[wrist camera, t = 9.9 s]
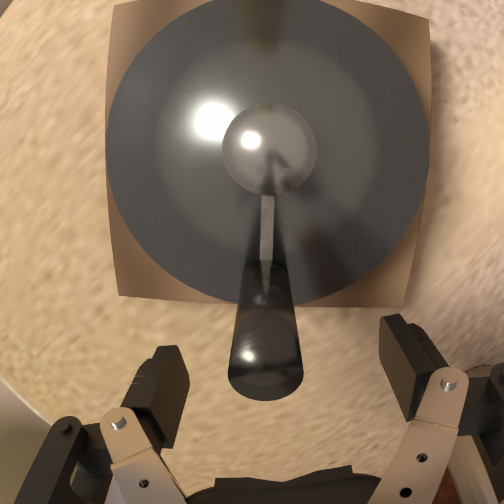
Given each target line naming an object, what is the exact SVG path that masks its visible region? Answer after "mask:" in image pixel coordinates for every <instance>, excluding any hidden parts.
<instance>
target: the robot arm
mask: <svg viewBox="0 0 504 504" xmlns="http://www.w3.org/2000/svg"><path fill="white" fill-rule="evenodd" d="M379 356H380V361H381V364H382V366H383V368H384V371H385V373H386V375H387V377H388V380H389V382H390V384H391V386H392V389H393V391H394V393H395V396H396V398H397V400H398V403H399V405H400V408H401V410H402V412H403V415H404V417H405V420H406V422H409V421H411V422H410V424H409V426H408V428H407V430H406V433H405V435H404V437H403V439H402V441H401V443H400V445H399V447H398V449H397V451H396V453H395V455H394V457H393V459H392V461H391V463H390V465H389V467H388V468H387V470H386V472H385V474H384V476H383V478H379V477H376V476H372V475H368V474H359V473H353V471H352V466H351V465H348V466H343V467H337V468H332V469H325V470H319V471H315V472H313V473H310V474H307V475H304V476H301V477H298V478H295V479H292V480H289V481H285V482H277V481H269V480H262V479H255V478H249V477H243V478H215V485H214V487H210V488H207V489H203V490H201V491H198V492H196V493H194V494H192V495H190V496H189V497H188V496H187V495H186V494H185V492H184V491H183V489H182V488H181V487H180V485H179V484H178V482H177V480H176V479H175V477H174V476H173V474H172V473H171V471H170V470H169V468H168V466H167V465H166V463H165V462H164V460H163V458H162V457H161V455H160V453H161V450H162V448H169V449H173V446H174V442H175V438H176V435H177V431H178V427H179V423H180V420H181V416H182V413H183V409H184V405H185V402H186V398H187V395H188V391H189V387H190V380H189V374H188V372H187V369H186V366H185V364H184V361H183V358H182V355H181V353H180V350H179V348H178V346H177V345H169V346H158V347H157V349H156V351H155V353H154V355H153V358H152V359H147V360H146V361H145V362H144V363H143V364H142V365H141V366H140V367H139V369H138V371H137V373H136V375H135V376H136V377H134V379H133V381H132V384H131V385H130V387H129V389H128V391H127V393H126V396H125V398H124V400H123V402H122V404H121V406H120V407H119V408H115V409H112V410H110V411H109V412H107V413H106V414H105V415H104V416H103V417H102V419H101V421H100V423H94V424H88V425H82V423H81V422H80V421H79V419H78V418H76V417H74V416H66V417H63V418H61V419H59V420H57V421H56V422H55V423H54V424H53V426H52V427H51V429H50V431H49V433H48V435H47V436H46V438H45V440H44V442H43V444H42V446H41V448H40V450H39V452H38V454H37V456H36V458H35V460H34V462H33V464H32V466H31V468H30V470H29V472H28V474H27V476H26V478H25V480H24V482H23V485H22V487H21V489H20V491H19V493H18V495H17V498H16V500H15V502H14V504H104V503H105V500H106V496H107V492H108V490H109V486H110V483H111V480H112V476H113V475H114V477H115V480H116V482H117V485H118V487H119V489H120V491H121V494H122V496H123V498H124V500H125V503H126V504H432V502H433V499H434V497H435V495H436V492H437V490H438V487H439V485H440V483H441V480H442V477H443V475H444V472H445V470H446V467H447V468H448V470H449V473H450V475H451V478H452V480H453V483H454V485H455V488H456V490H457V493H458V496H459V498H460V501H461V504H504V363H500V364H497V365H496V366H494V367H492V366H481V367H477V368H474V369H472V370H470V371H468V372H466V373H464V372H463V371H462V370H460V369H457V368H454V367H449V366H448V364H447V363H446V361H445V360H444V358H443V357H442V355H441V354H440V352H439V351H438V349H437V348H436V347H435V345H433V342H432V341H431V339H430V338H429V337H428V335H427V334H426V332H425V331H424V330H423V329H422V328H421V327H419V326H417V325H416V324H414V323H411V324H407V323H406V322H405V320H404V319H403V317H402V316H401V315H400V314H399V313H398V314H394V315H389V316H384V317H381V319H380V334H379ZM75 466H76V467H77V468H78V469H77V472H76V475H75V477H74V480H73V482H72V485H71V486H70V478H71V475H72V473H73V470H74V468H75Z"/></svg>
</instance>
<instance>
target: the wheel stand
mask: <svg viewBox="0 0 504 504" xmlns="http://www.w3.org/2000/svg"><path fill="white" fill-rule="evenodd" d="M210 1H213V0H137V1H132V2H127V3H122V4H118V5H114V10H113V17H112V24H111V33H110V42H109V53H108V65H107V81H106V105H105V151H106V130H107V124H108V118H109V113H110V109H111V106H112V103H113V100H114V96H115V93H116V91H117V89H118V87H119V84H120V82H121V80H122V78H123V76H124V74H125V72H126V71H127V69H128V67H129V66H130V64H131V63H132V61H133V60H134V58H135V57H136V55H137V54H138V53H139V52H140V51H141V49H142V48H143V47H144V46H145V45H146V44H147V43H148V41H149V40H150V39H151V38H152V37H153V36H155V35H156V34H157V33H158V32H159V31H160V30H161V29H163V28H164V27H165V26H166V25H167V24H169V23H170V22H172V21H173V20H175V19H176V18H178V17H179V16H181V15H182V14H184V13H185V12H187V11H190V10H192V9H194V8H196V7H198V6H200V5H202V4H204V3H207V2H210ZM320 1H322V2H325V3H328V4H330V5H333V6H335V7H337V8H339V9H341V10H343V11H345V12H347V13H348V14H350V15H352V16H354V17H356V18H357V19H358V20H360V21H361V22H362V23H364V24H365V25H367V26H368V27H369V28H371V29H372V30H373V31H374V32H375V33H376V34H377V35H378V36H380V37H381V38H382V39H383V40H384V41H385V42H386V43H387V44H388V45H389V46H390V48H391V49H392V50H393V51H394V53H395V54H396V55H397V57H398V58H399V59H400V60H401V62H402V63H403V65H404V66H405V68H406V70H407V72H408V73H409V75H410V77H411V78H412V80H413V82H414V84H415V87H416V89H417V92H418V94H419V97H420V99H421V102H422V105H423V109H424V113H425V117H426V121H427V127H428V136H429V143H430V127H431V93H432V81H431V48H430V33H429V21H428V19H426V18H423V17H420V16H416V15H413V14H410V13H406V12H402V11H399V10H395V9H391V8H387V7H383V6H379V5H374V4H370V3H365V2H360V1H355V0H320ZM105 157H106V154H105ZM106 182H107V198H108V212H109V223H110V233H111V242H112V251H113V259H114V267H115V274H116V281H117V287H118V293H119V296H129V297H140V298H152V299H164V300H177V301H192V302H208V303H225V304H236V303H232V302H227V301H223V300H220V299H217V298H214V297H211V296H208V295H206V294H203V293H201V292H199V291H197V290H195V289H193V288H191V287H189V286H187V285H185V284H184V283H182V282H181V281H179V280H178V279H176V278H174V277H173V276H171V275H170V274H169V273H168V272H166V271H165V270H164V269H163V268H162V267H160V266H159V265H158V264H157V263H156V262H155V261H154V260H153V259H152V258H151V257H150V256H149V255H148V254H147V253H146V252H145V251H144V250H143V249H142V248H141V246H140V245H139V244H138V242H137V241H136V239H135V238H134V237H133V235H132V234H131V232H130V231H129V229H128V227H127V226H126V224H125V222H124V220H123V218H122V216H121V215H120V213H119V210H118V207H117V205H116V202H115V200H114V197H113V194H112V191H111V186H110V182H109V178H108V173H107V164H106ZM424 193H425V188H424V192H423V195H422V199H421V202H420V205H419V207H418V209H417V212H416V214H415V216H414V218H413V221H412V222H411V224H410V226H409V227H408V229H407V231H406V232H405V234H404V236H403V237H402V239H401V240H400V241H399V243H398V244H397V245H396V246H395V248H394V249H393V250H392V251H391V253H390V254H389V255H388V256H387V257H386V258H385V259H384V260H383V261H382V262H381V263H380V264H379V265H378V266H377V267H376V268H374V269H373V270H372V271H370V272H369V273H368V274H366V275H365V276H364V277H362V278H361V279H360V280H358V281H356V282H355V283H353V284H351V285H350V286H348V287H346V288H344V289H343V290H340V291H338V292H336V293H333V294H331V295H329V296H326V297H324V298H320V299H317V300H313V301H310V302H306V303H302V304H295V305H294V306H300V307H402V305H403V302H404V298H405V294H406V290H407V285H408V281H409V277H410V272H411V268H412V263H413V258H414V254H415V248H416V243H417V238H418V232H419V226H420V220H421V214H422V207H423V200H424Z"/></svg>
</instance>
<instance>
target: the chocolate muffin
mask: <svg viewBox="0 0 504 504" xmlns="http://www.w3.org/2000/svg"><path fill="white" fill-rule="evenodd" d="M432 504H461V501H460V498H459V496H458V493H457V490H456V488H455V485H454V483H453V480H452V478H451V475H450V473H449V470H448V468H447V467H446V470H445V472H444V475H443V477H442V480H441V483H440V485H439V487H438V490H437V492H436V495H435V497H434V499H433V502H432Z"/></svg>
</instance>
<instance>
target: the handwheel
mask: <svg viewBox="0 0 504 504" xmlns="http://www.w3.org/2000/svg"><path fill="white" fill-rule="evenodd" d="M105 154H106V164H107V173H108V178H109V182H110V186H111V191H112V194H113V197H114V200H115V202H116V205H117V207H118V210H119V213H120V215H121V216H122V218H123V220H124V222H125V224H126V226H127V227H128V229H129V231H130V232H131V234H132V235H133V237H134V238H135V239H136V241H137V242H138V244H139V245H140V246H141V248H142V249H143V250H144V251H145V252H146V253H147V254H148V255H149V256H150V257H151V258H152V259H153V260H154V261H155V262H156V263H157V264H158V265H159V266H160V267H162V268H163V269H164V270H165V271H166V272H168V273H169V274H170V275H171V276H173V277H174V278H176V279H178V280H179V281H181V282H182V283H184V284H185V285H187V286H189V287H191V288H193V289H195V290H197V291H199V292H201V293H203V294H206V295H208V296H211V297H214V298H217V299H220V300H223V301H227V302H232V303H236V304H238V306H237V313H236V320H235V326H234V333H233V340H232V347H231V354H230V361H229V368H228V379H229V382H230V384H231V386H232V387H233V388H234V389H235V390H236V391H237V392H238V393H240V394H241V395H243V396H245V397H247V398H250V399H253V400H259V401H272V400H277V399H281V398H284V397H286V396H288V395H290V394H291V393H293V392H294V391H295V390H296V389H297V388H298V387H299V386H300V384H301V382H302V380H303V375H304V372H303V364H302V357H301V351H300V344H299V337H298V331H297V324H296V318H295V311H294V305H295V304H302V303H306V302H310V301H313V300H317V299H320V298H324V297H326V296H329V295H331V294H333V293H336V292H338V291H340V290H343V289H344V288H346V287H348V286H350V285H351V284H353V283H355V282H356V281H358V280H360V279H361V278H362V277H364V276H365V275H366V274H368V273H369V272H370V271H372V270H373V269H374V268H376V267H377V266H378V265H379V264H380V263H381V262H382V261H383V260H384V259H385V258H386V257H387V256H388V255H389V254H390V253H391V251H392V250H393V249H394V248H395V246H396V245H397V244H398V243H399V241H400V240H401V239H402V237H403V236H404V234H405V232H406V231H407V229H408V227H409V226H410V224H411V222H412V221H413V218H414V216H415V214H416V212H417V209H418V207H419V205H420V202H421V199H422V195H423V192H424V188H425V185H426V180H427V173H428V166H429V136H428V127H427V121H426V117H425V113H424V109H423V105H422V102H421V99H420V97H419V94H418V92H417V89H416V87H415V84H414V82H413V80H412V78H411V77H410V75H409V73H408V72H407V70H406V68H405V66H404V65H403V63H402V62H401V60H400V59H399V58H398V57H397V55H396V54H395V53H394V51H393V50H392V49H391V48H390V46H389V45H388V44H387V43H386V42H385V41H384V40H383V39H382V38H381V37H380V36H378V35H377V34H376V33H375V32H374V31H373V30H372V29H371V28H369V27H368V26H367V25H365V24H364V23H362V22H361V21H360V20H358V19H357V18H356V17H354V16H352V15H350V14H348V13H347V12H345V11H343V10H341V9H339V8H337V7H335V6H333V5H330V4H328V3H325V2H322V1H320V0H213V1H210V2H207V3H204V4H202V5H200V6H198V7H196V8H194V9H192V10H190V11H187V12H185V13H184V14H182V15H181V16H179V17H178V18H176V19H175V20H173V21H172V22H170V23H169V24H167V25H166V26H165V27H164V28H163V29H161V30H160V31H159V32H158V33H157V34H156V35H155V36H153V37H152V38H151V39H150V40H149V41H148V43H147V44H146V45H145V46H144V47H143V48H142V49H141V51H140V52H139V53H138V54H137V55H136V57H135V58H134V60H133V61H132V63H131V64H130V66H129V67H128V69H127V71H126V72H125V74H124V76H123V78H122V80H121V82H120V84H119V87H118V89H117V91H116V93H115V96H114V100H113V103H112V106H111V109H110V113H109V118H108V124H107V130H106V151H105Z"/></svg>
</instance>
